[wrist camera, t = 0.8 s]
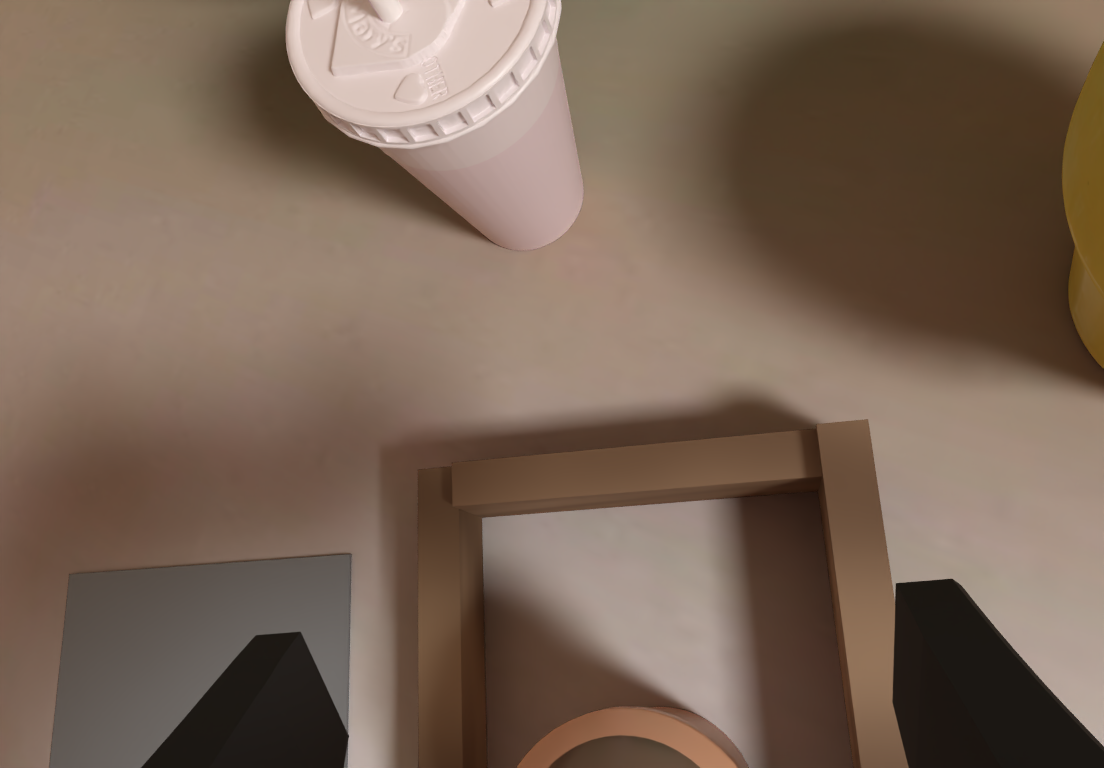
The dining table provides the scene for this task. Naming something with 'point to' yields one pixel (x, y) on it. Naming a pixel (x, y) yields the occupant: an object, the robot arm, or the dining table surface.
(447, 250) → the dining table surface
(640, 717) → the terracotta pot
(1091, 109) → the plant pot
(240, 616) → the potting mat
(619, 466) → the cold frame
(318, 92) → the smoothie
